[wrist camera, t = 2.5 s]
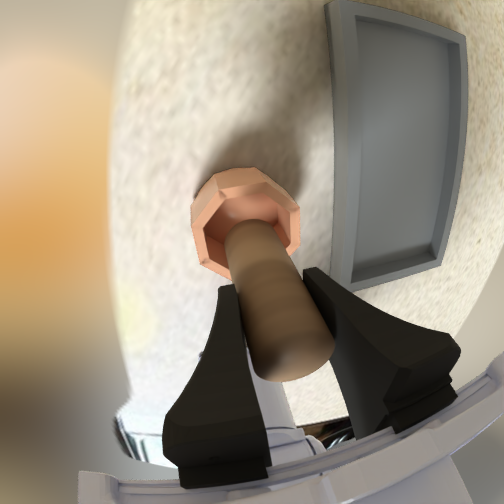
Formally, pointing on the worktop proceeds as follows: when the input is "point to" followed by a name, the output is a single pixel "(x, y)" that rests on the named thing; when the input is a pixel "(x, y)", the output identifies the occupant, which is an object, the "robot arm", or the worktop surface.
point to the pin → (275, 305)
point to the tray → (393, 141)
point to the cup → (240, 213)
